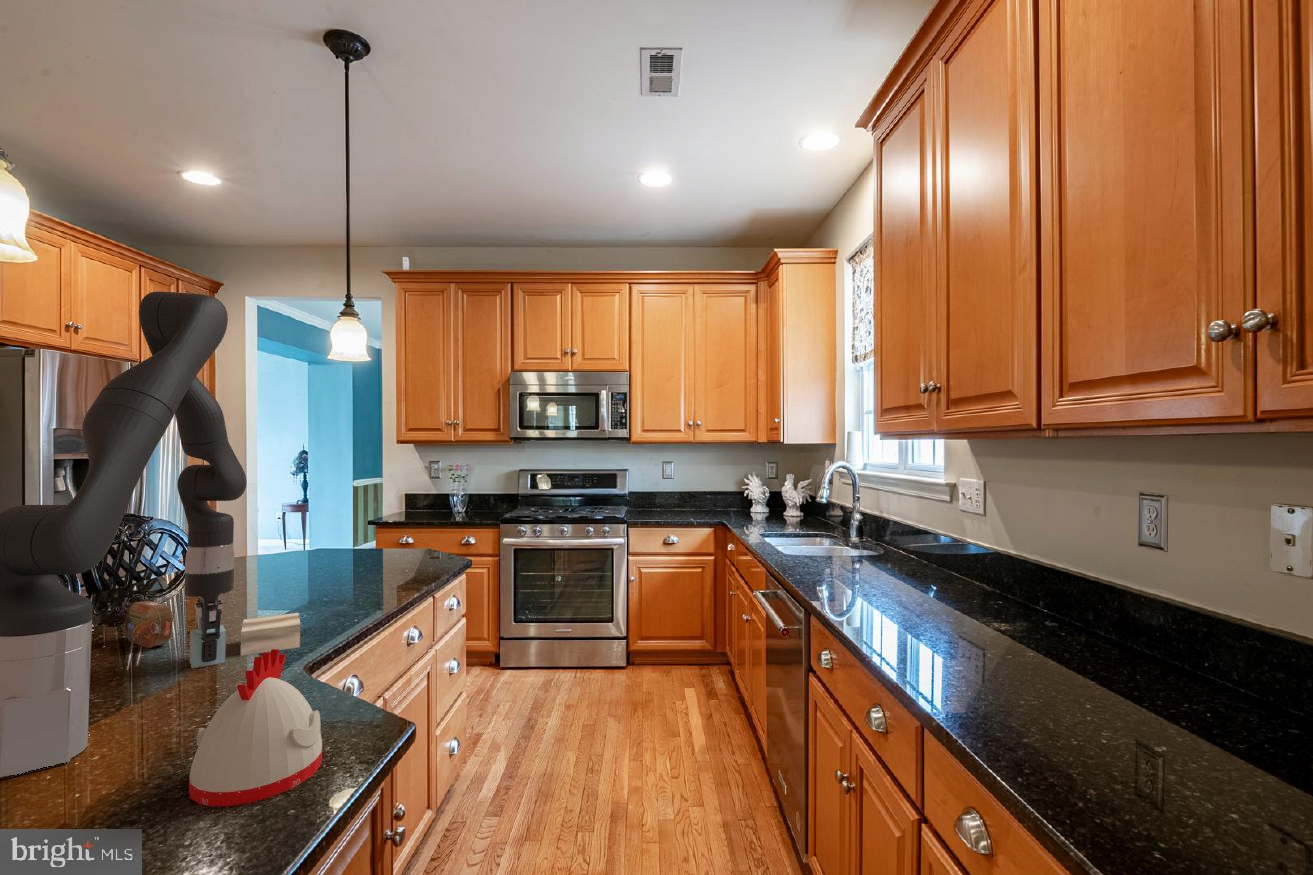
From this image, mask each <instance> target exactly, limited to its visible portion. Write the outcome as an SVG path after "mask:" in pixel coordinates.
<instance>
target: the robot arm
mask: <svg viewBox="0 0 1313 875" xmlns="http://www.w3.org/2000/svg"><path fill="white" fill-rule="evenodd" d="M228 316H229V315H228V310H227V308H226V306H225V305H224V303H223V302H222V301H220V299H218V298H216V297H214V296H211V295H207V294H203V293H202V294H201V293H194V292H193V293H192V292H191V293H189V292H178V291H177V292H176V291H175V292H174V291H151V292H148V293H147V294H146V295H144V296H143V297H142V299H141V301H140V303H139V307H138V317H139V323H140V324H139V325H140V327H141V331H142V333H143V334H142V335H143V337H144V339H145V341H146V344H147V346H148V350H149V352H150V354H151V356H149V357H148V358H146V359H144V360H143V361H140V362H139V363H137V364H136V365H133V366H131V367H130V368H128V369H126V370H125V371H123V372H121V373H120V374H118V375H117V376H115V377H114V378H112V379H111V380H110V381H109V382H108V383H107V384H105V385H104V387H103V388H102V389H101V391H100V392H99V394H98V395H97V397H96V399H95V400H94V401H93V403H92V404H91V406H90V407H89V409H88V410H87V412H86V414H85V415H84V418H83V421H82V425H81V426H82V430H81V431H82V438H83V443H84V446H85V450H86V454H87V457H88V458H87V459H88V471H87V474H86V476H85V478H84V481H83V482H82V485H80V487H79V490H78V491H77V493H76V494H75V496H74V497H73V498H72V500H71V501H70V502H69V503H67V504H23V505H15V506H12V507H9V508H7V509H4V510H3V511H0V777H3V776H9V775H15V776H18V775H17V774H19V775H23V774H26V773H25V772H27V773H29V772H28V771H30V770H35V771H37V770H36V769H39V770H41V769H40V768H43V767H47V768H49V767H48V766H52V767H55V766H54V765H56V764H60V763H64V764H67V763H70V761H71V760H72V758H74V757H76V756H78V755H79V754H80V753H82V752H83V751H84V750H86V748H87V747H88V743H89V742H88V740H89V738H88V736H89V734H88V733H89V712H90V711H89V710H90V708H89V707H90V686H91V684H90V680H91V678H90V677H91V653H92V635H93V633H92V631H93V602H92V601H91V599H90V598H88V597H86V596H84V595H82V594H78V593H76V592H75V591H72V590H71V589H68V588H67V587H65V586H64V585H63V584H62V583H61V581H59V578H58V576H65V575H66V576H68V575H69V576H70V575H78V574H83V573H86V572H88V571H89V570H92V569H93V568H95V567H96V566H97V565H98V564H99V563H100V562H101V561H102V560H103V559H104V558H105V556H106V554H107V553H108V551H109V550H110V548H111V546H112V544H113V542H114V541H115V538H116V536H117V533H118V531H119V528H120V527H121V526H120V525H121V524H122V521H123V519H124V516H125V513H126V512H127V509H128V506H129V503H130V500H131V498H132V496H133V494H134V492H135V488H136V486H137V485H138V483H139V480H140V478H141V476H142V474H143V472H144V470H145V468H146V466H147V465H148V462H149V461H150V459H151V457H152V455H153V452H154V451H155V449H156V448H157V446H158V445H159V443H160V441H161V439H162V438H163V437H164V435H165V433H166V431H167V430H168V428H169V425H170V424H171V422H172V420H173V419H174V416H175V420H176V426H177V430H178V435H179V440H180V444H181V448H182V451H183V453H184V454H185V455H186V456H187V457H190V458H195V459H198V460H201V461H202V460H203V461H205V462H207V463H208V464H191V465H188V466H186V467H185V468H183V470H181V472H180V474H179V476H178V478H177V483H176V484H177V486H176V487H177V491H178V495H179V498H180V501H181V504H182V508H183V510H184V514H185V515H184V516H185V519H186V521H187V528H188V530H187V549H186V554H185V563H184V564H185V565H184V568H185V569H184V588H183V589H184V595H185V596H187V597H192V598H197V600H196V603H194V604H195V605H194V611H195V613H196V614H195V615H196V616H195V623H196V628H197V629H199V630H201V635H202V637H201V641H202V658H201V660H202V662H210V661H214V660H216V657H217V640H218V639H219V637H220V626H221V625H222V612H223V609H224V607H223V606H224V605H223V604H224V603H223V602H222V599H219V596H220V595H221V594H228V593H230V592H231V591H233V589H234V585H235V584H234V583H235V580H234V579H235V548H234V536H235V535H234V533H235V532H234V528H235V521H234V517H233V516H232V515H231V514H229V513H225V512H220V511H216V510H213V509H212V508H211V506H210V504H209V502H229V501H230V502H232V501H235V500H237V499H239V498H241V497H242V495H243V494H244V493H245V491H246V489H247V484H248V482H247V476H246V473H245V470H244V469H243V466H242V465H241V463H240V461H239V459H238V456H236V453H235V452H234V449H233V447H232V445H231V444H230V442H229V438H228V432H227V427H226V426H227V425H226V421H225V417H224V413H223V412H224V411H223V409H222V408H221V406H220V403H219V402H218V401H217V399H216V398H215V396H214V395H213V394H212V393H211V392H210V390H209V389H208V388H207V387H206V386H205V384H204V383H203V382H202V381H201V380H200V378H199V377H198V374H199V372H200V371H201V370H202V368H204V366H205V364H206V363H207V362H208V361H209V359H210V358H211V357H212V355H213V354H214V353H215V351H216V350H217V348H218V347H219V346H220V344H221V342H222V340H223V339H224V336H225V335H226V332H227V329H228V323H229V319H228V318H229V317H228ZM209 629H214V633H212V634H207V630H209ZM66 762H67V763H66ZM60 765H61V764H60ZM56 766H57V765H56ZM43 769H44V768H43ZM22 773H23V774H22Z"/></svg>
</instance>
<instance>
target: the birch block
mask: <svg viewBox="0 0 1313 875" xmlns="http://www.w3.org/2000/svg"><path fill="white" fill-rule="evenodd" d="M240 632H241V633H240V657H242V656H243V657H244V656H248V655H249V656H250V655H256V654H262V653H271V650H272V649H279V651H282V650H283V651H284V650H290V649H296V648H300V647H301V619H300V613H299V612H295V613H294V612H293V613H284V614H276V615H268V616H259V617H253V618H252V617H251V618H245V619H243V621H242V626H241V631H240Z"/></svg>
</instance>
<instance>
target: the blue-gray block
mask: <svg viewBox="0 0 1313 875" xmlns="http://www.w3.org/2000/svg"><path fill="white" fill-rule="evenodd" d="M189 632H190V634H189V636H190V637H189V639H190V640H189V664H191V665H190V667H191V669H196V668H197V669H198V668H202V667H208V666H212V665H217V664H218V665H219V664H223V663H226V646H227V644H226V642H227V630H226V628H225V627H224V625H223V624H221V626H220V637H219V639H218V640H217V657H216V660H214V661H210V662H202V660H201V658H202V641H201V637H202V635H201V630H199V629H198V628H195V629H190V630H189ZM212 633H214V629H209V630H207V634H212Z"/></svg>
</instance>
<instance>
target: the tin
mask: <svg viewBox="0 0 1313 875" xmlns="http://www.w3.org/2000/svg"><path fill="white" fill-rule="evenodd" d="M173 622H174V615H173V612H172V610H171V607H169V606H168V605H165V604H161V603H157V602H153V601H148V600H147V601H146V600H145V601H135V602H132V603H131V604H130V605H129V606H128V608H127V611H126V614H125V618H124V629H125V634H126V638H127V640H128V641H129V642H130V643H131V642H132V643H131V644H134V643H135V644H134V645H139V646H142V647H144V648H146V649H147V648H148V649H151V648H155V647H159V646H160V647H161V646H164V645H166V644H167V643H168V642H169V641H170V639H171V638H172V632H173V624H174V623H173Z"/></svg>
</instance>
